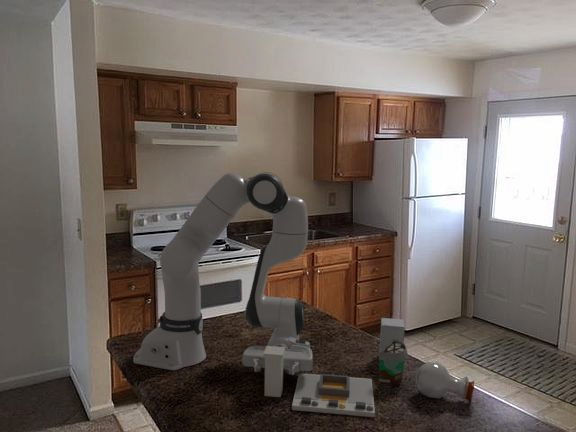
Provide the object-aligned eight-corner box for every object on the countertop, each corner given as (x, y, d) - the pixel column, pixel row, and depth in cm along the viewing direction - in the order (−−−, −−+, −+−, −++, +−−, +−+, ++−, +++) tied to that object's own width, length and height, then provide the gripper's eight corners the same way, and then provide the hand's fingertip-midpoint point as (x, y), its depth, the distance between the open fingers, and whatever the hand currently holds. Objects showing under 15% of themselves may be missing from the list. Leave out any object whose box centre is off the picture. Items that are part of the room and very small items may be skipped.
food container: (398, 391, 130) (400, 357, 129) (377, 385, 134) (378, 352, 132) (411, 374, 141) (413, 343, 140) (392, 369, 144) (393, 338, 143)
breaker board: (291, 409, 120) (292, 398, 120) (299, 377, 138) (299, 366, 137) (374, 417, 118) (375, 405, 117) (371, 382, 135) (371, 372, 135)
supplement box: (403, 365, 147) (405, 327, 145) (378, 363, 148) (380, 325, 147) (402, 356, 154) (404, 319, 152) (379, 353, 155) (381, 317, 154)
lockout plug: (262, 396, 127) (263, 353, 125) (266, 387, 132) (266, 345, 130) (281, 398, 126) (282, 355, 124) (284, 388, 131) (285, 347, 129)
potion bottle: (412, 394, 132) (467, 412, 127) (411, 388, 124) (470, 407, 118) (419, 362, 136) (474, 378, 130) (419, 354, 128) (477, 371, 122)
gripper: (247, 337, 142) (236, 357, 128) (314, 342, 139) (311, 362, 126) (247, 357, 143) (236, 378, 129) (314, 362, 140) (310, 384, 127)
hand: (273, 370), depth 127 cm, fingers open, 8 cm apart
